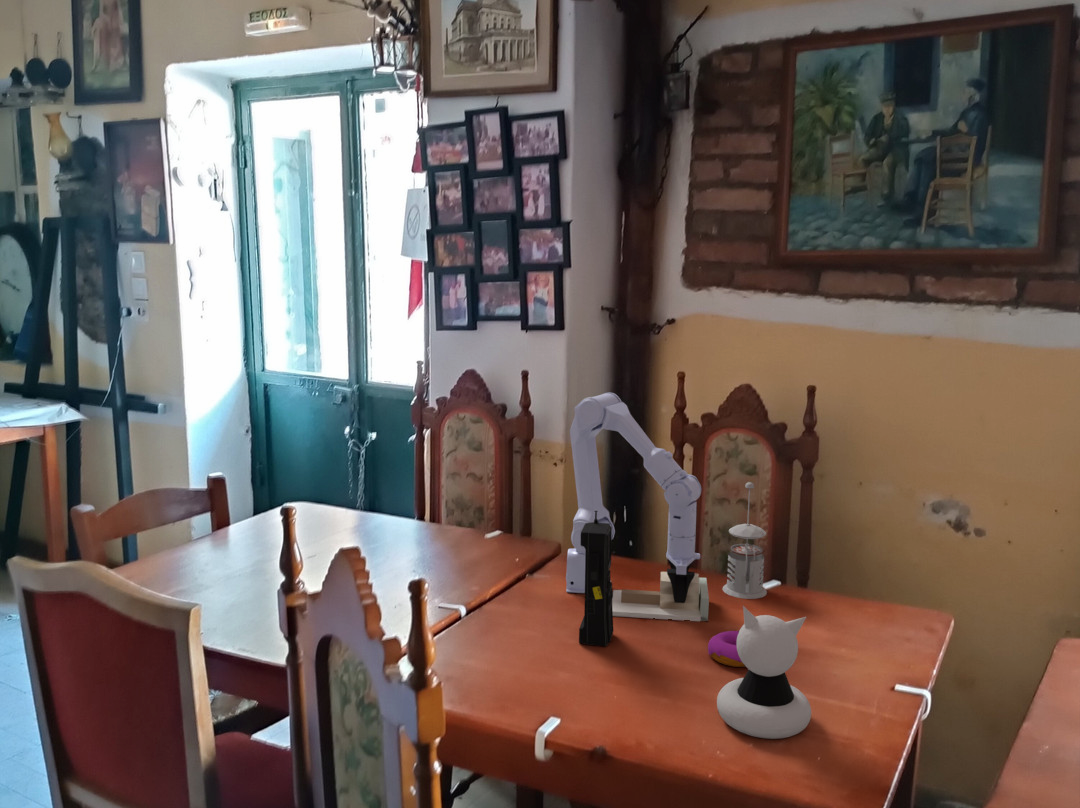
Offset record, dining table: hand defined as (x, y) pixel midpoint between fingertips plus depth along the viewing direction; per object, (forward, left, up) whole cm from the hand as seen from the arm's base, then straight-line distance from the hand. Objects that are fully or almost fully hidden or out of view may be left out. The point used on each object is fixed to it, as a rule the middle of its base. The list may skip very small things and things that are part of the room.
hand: (679, 595), depth 188 cm
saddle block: (0, 0, -2) cm, 2 cm away
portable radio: (-16, -18, -3) cm, 24 cm away
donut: (+10, -22, -3) cm, 25 cm away
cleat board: (-4, 0, -3) cm, 5 cm away
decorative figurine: (+13, -44, -3) cm, 46 cm away
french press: (+15, +12, -3) cm, 19 cm away
